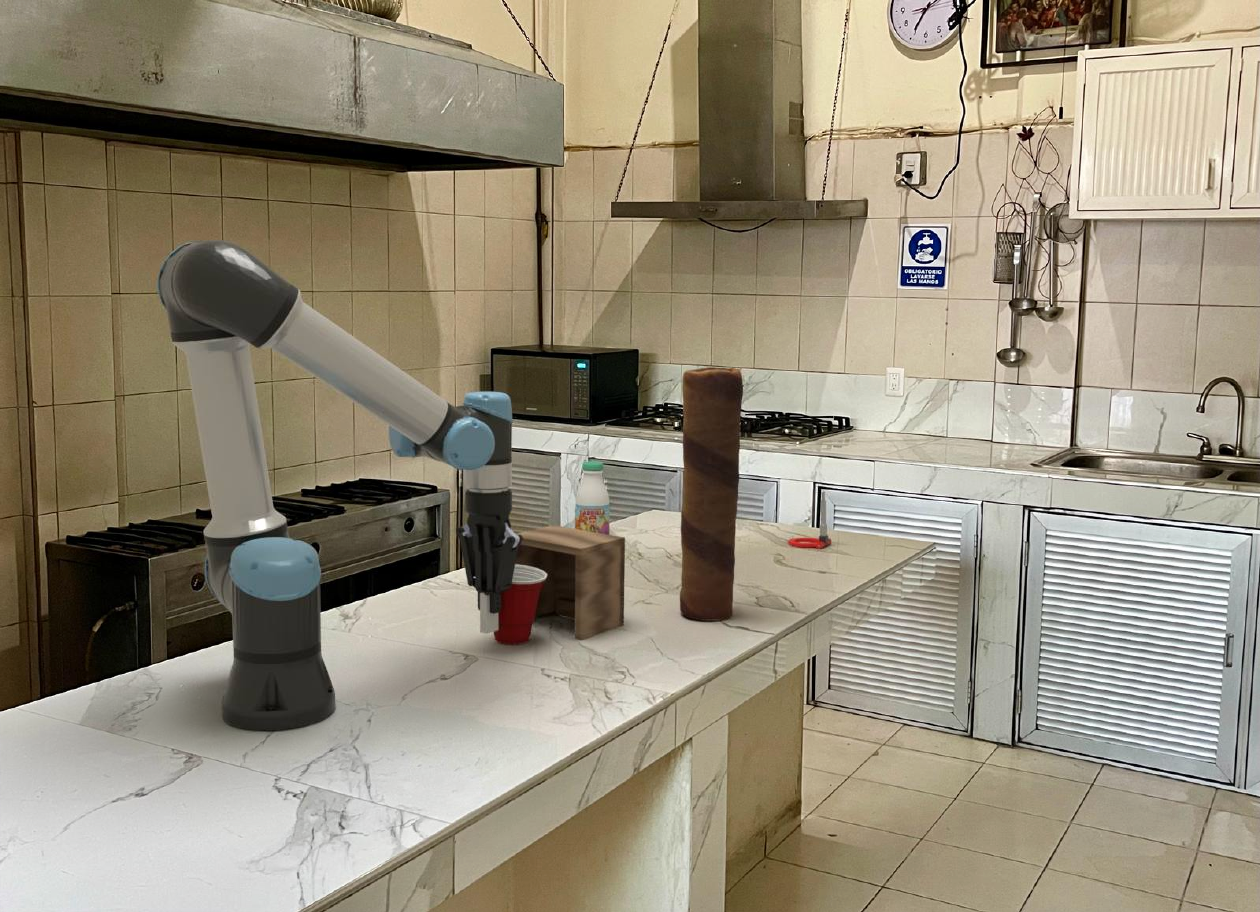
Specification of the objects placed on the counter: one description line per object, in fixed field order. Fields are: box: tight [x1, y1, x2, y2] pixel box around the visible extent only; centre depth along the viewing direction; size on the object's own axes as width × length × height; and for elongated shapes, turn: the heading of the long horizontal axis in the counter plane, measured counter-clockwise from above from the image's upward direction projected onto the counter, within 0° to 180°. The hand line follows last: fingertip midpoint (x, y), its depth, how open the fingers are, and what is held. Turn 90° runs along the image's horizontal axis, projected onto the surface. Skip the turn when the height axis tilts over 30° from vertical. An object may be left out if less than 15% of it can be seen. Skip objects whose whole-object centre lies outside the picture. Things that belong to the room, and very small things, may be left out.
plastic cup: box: [492, 564, 547, 646], centre depth 201 cm, size 11×11×12 cm
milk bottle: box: [574, 461, 611, 535], centre depth 270 cm, size 8×8×20 cm
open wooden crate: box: [515, 524, 626, 641], centre depth 212 cm, size 12×16×16 cm
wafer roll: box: [679, 366, 744, 621], centre depth 217 cm, size 10×11×45 cm
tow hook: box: [787, 490, 832, 549], centre depth 281 cm, size 8×13×9 cm
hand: (489, 630), depth 197 cm, fingers closed
